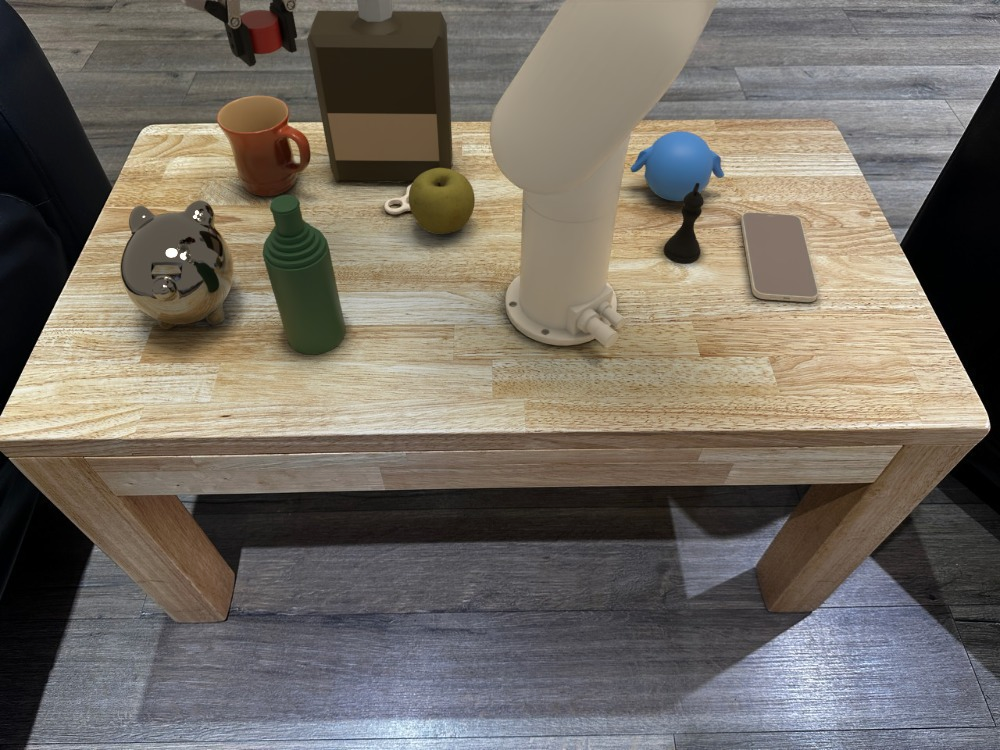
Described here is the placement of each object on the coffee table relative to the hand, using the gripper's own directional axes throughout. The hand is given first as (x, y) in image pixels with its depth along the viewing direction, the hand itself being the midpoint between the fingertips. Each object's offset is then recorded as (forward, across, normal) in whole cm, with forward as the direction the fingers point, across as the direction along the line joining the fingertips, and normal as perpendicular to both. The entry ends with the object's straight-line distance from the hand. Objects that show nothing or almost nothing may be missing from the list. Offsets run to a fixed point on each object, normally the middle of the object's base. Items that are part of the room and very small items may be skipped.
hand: (266, 52), depth 80 cm
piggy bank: (+24, +16, +4) cm, 29 cm away
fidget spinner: (+23, -13, +3) cm, 27 cm away
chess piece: (+23, -34, +31) cm, 52 cm away
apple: (+23, -14, +9) cm, 29 cm away
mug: (+24, -2, -11) cm, 26 cm away
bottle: (+24, -16, -5) cm, 29 cm away
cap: (-3, 0, 0) cm, 3 cm away
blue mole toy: (+23, -43, +21) cm, 53 cm away
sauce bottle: (+23, +8, +16) cm, 29 cm away
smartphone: (+23, -42, +39) cm, 62 cm away
